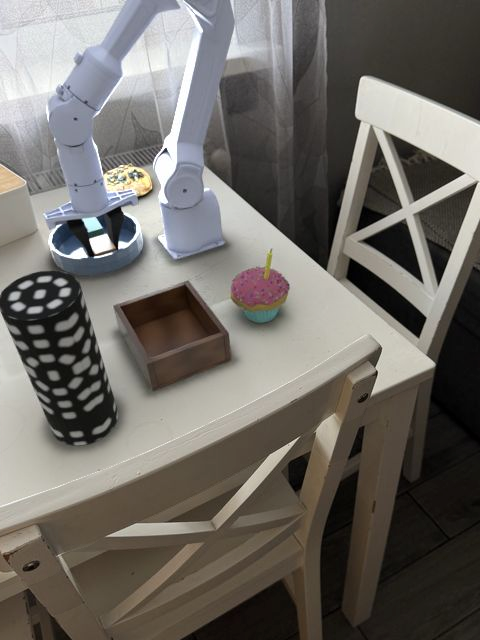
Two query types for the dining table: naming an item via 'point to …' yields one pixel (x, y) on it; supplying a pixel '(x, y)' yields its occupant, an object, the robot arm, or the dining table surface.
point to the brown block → (102, 245)
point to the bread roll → (128, 180)
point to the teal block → (93, 227)
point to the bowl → (77, 261)
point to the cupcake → (260, 292)
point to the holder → (172, 334)
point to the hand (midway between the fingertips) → (103, 252)
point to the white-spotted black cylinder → (60, 354)
